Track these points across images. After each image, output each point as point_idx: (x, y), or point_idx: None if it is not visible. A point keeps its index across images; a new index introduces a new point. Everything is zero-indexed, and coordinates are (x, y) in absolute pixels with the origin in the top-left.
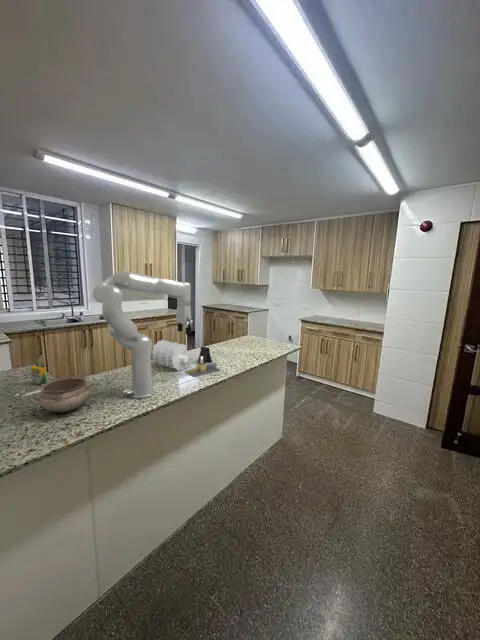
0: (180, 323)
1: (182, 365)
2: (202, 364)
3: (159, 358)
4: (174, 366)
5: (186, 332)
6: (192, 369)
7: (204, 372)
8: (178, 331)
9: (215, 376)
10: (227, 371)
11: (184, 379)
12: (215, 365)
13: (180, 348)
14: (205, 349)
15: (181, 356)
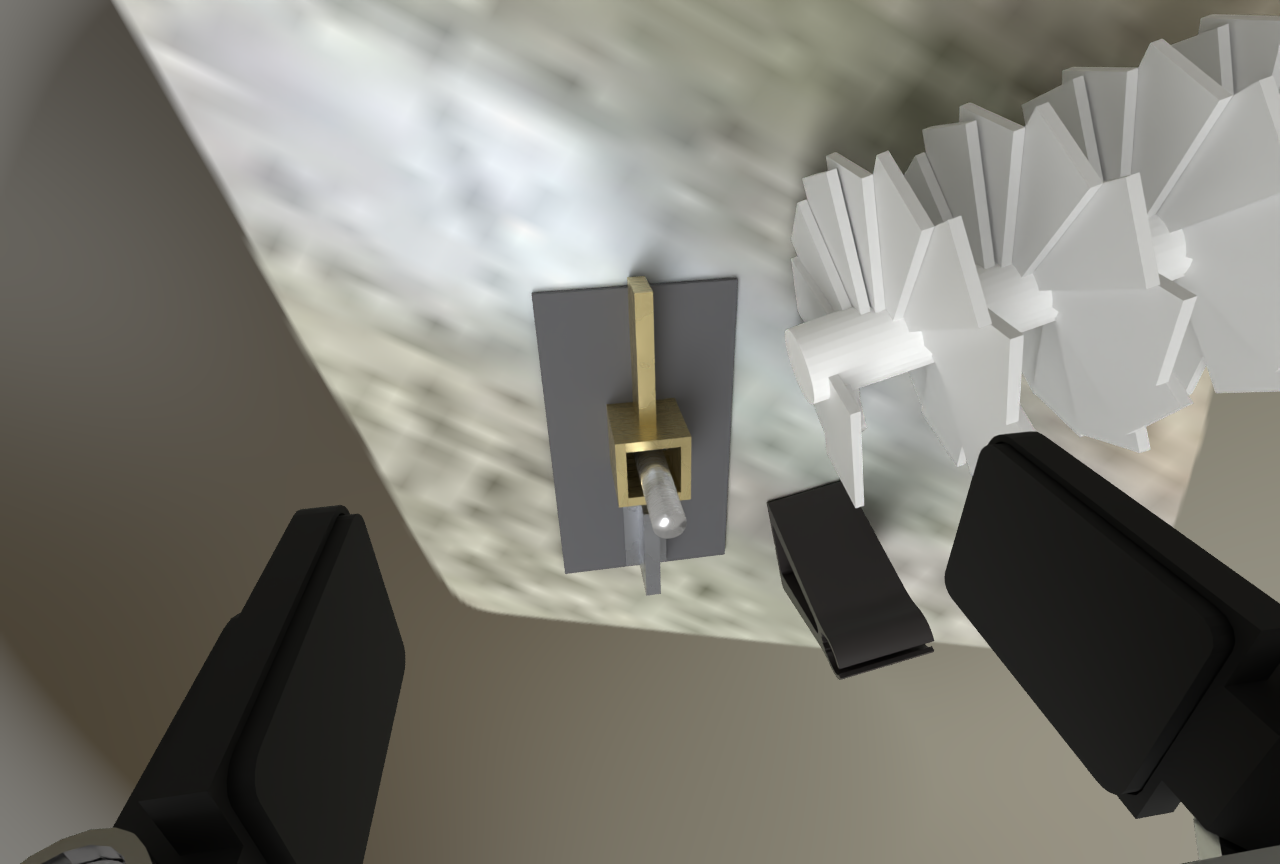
0: (1269, 816)
1: (811, 305)
2: (639, 473)
3: (1110, 74)
4: (811, 191)
5: (277, 572)
6: (636, 346)
7: (597, 438)
8: (991, 445)
9: (464, 478)
10: (524, 599)
11: (545, 189)
12: (643, 572)
13: (973, 386)
14: (847, 639)
15: (869, 336)
